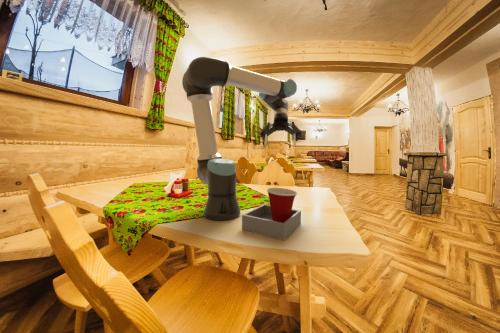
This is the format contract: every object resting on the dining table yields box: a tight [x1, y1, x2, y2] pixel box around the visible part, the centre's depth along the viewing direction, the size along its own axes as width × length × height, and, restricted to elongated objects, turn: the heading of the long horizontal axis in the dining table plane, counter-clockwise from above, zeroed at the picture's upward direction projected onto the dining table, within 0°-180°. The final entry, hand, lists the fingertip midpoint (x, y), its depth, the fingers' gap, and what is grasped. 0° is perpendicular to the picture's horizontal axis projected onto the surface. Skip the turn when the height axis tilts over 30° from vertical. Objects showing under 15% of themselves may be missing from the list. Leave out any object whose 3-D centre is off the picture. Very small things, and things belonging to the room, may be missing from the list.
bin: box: [241, 203, 302, 241], centre depth 67 cm, size 16×16×5 cm
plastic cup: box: [266, 187, 298, 223], centre depth 67 cm, size 11×11×12 cm
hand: (279, 145), depth 88 cm, fingers open, 13 cm apart
